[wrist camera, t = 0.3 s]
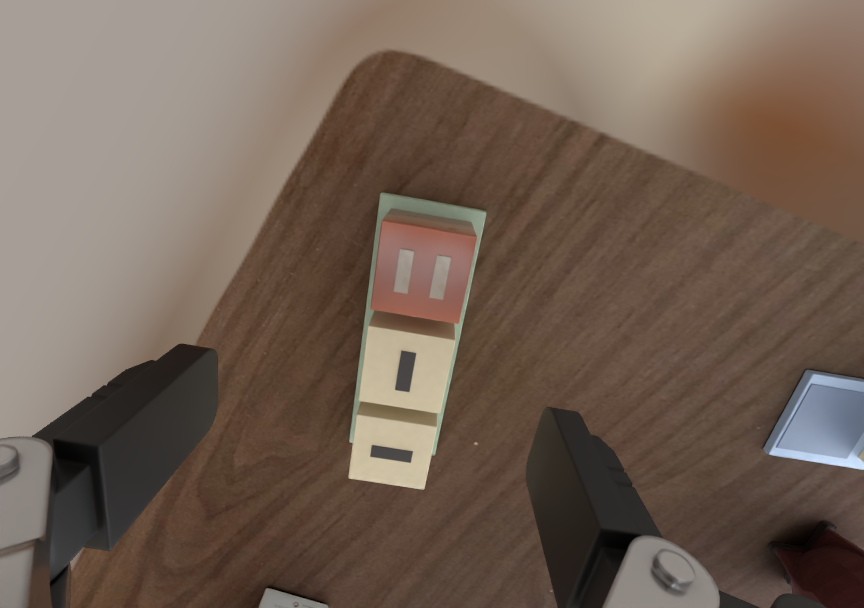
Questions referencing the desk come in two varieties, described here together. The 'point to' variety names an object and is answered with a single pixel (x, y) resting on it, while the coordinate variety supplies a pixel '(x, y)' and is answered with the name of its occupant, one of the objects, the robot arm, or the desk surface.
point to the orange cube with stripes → (423, 265)
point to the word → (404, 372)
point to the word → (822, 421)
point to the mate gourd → (824, 568)
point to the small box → (286, 601)
